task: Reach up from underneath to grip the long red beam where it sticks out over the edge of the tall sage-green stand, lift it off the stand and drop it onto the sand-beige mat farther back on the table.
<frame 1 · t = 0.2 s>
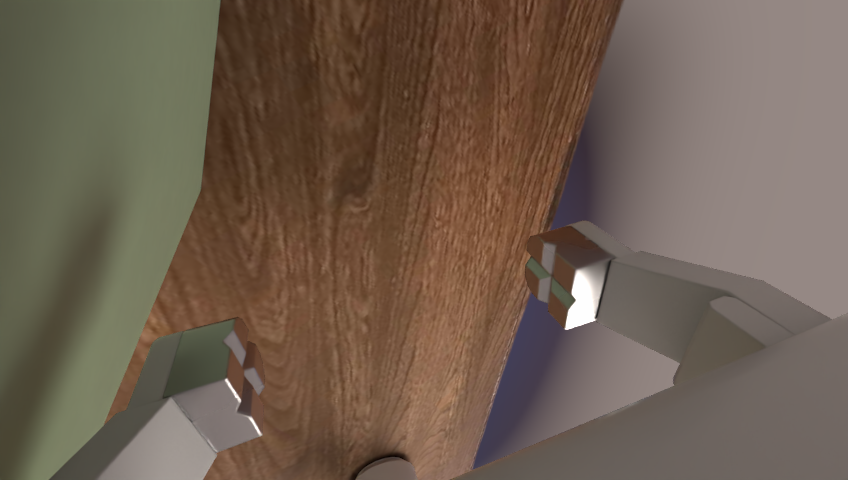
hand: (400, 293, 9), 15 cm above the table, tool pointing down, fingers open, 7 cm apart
can: (380, 470, 43), on the table
stand: (78, 15, 15), on the table
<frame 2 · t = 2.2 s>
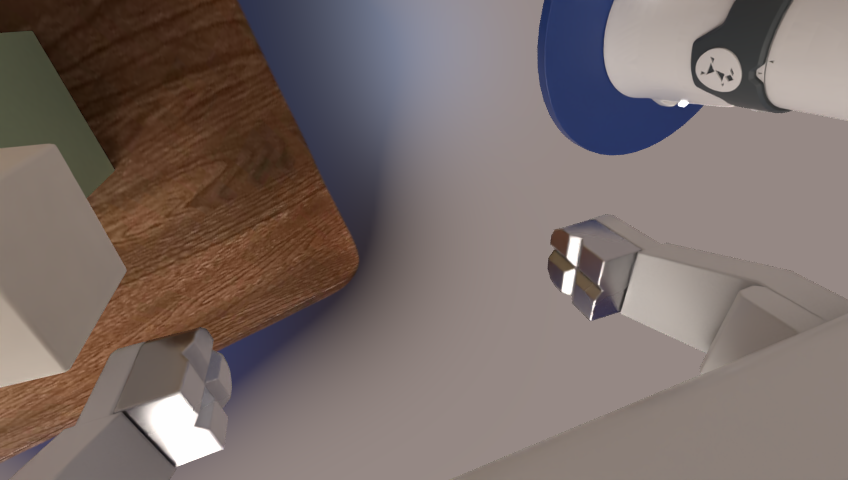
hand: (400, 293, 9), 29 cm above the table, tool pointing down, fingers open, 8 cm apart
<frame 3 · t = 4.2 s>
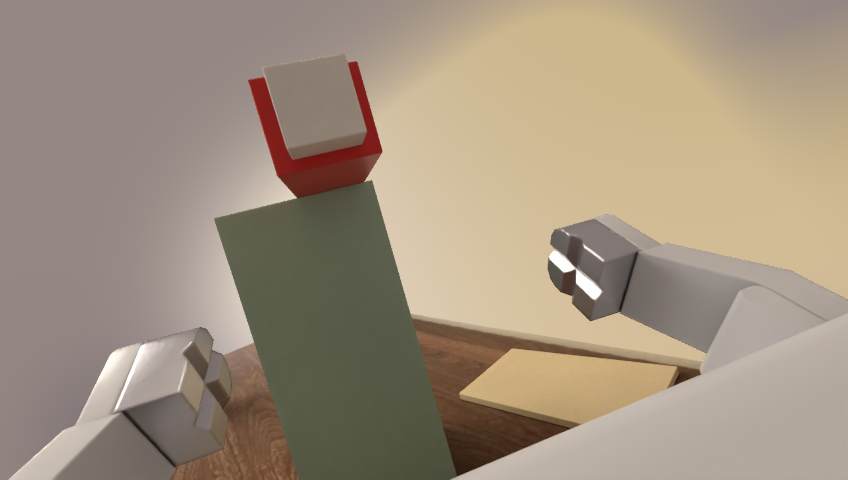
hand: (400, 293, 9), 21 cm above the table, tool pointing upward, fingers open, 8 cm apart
mat: (561, 387, 41), on the table
long red beam: (331, 193, 26), point 26 cm above the table, touching stand
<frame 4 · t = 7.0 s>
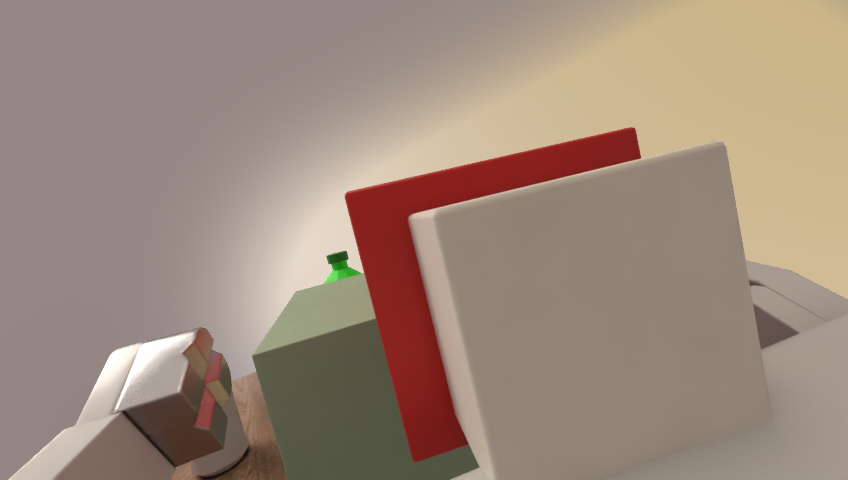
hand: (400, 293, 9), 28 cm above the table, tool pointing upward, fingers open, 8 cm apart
plastic bottle: (365, 364, 80), on the table
can: (223, 463, 55), on the table
long red beam: (431, 289, 16), point 26 cm above the table, touching gripper, stand
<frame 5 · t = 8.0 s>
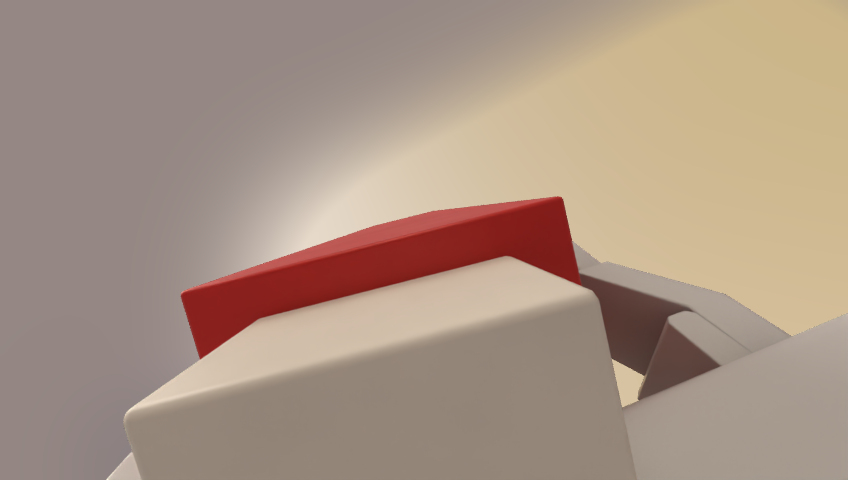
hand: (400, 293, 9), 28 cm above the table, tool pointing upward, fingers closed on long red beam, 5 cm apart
long red beam: (422, 314, 15), point 26 cm above the table, touching gripper, stand
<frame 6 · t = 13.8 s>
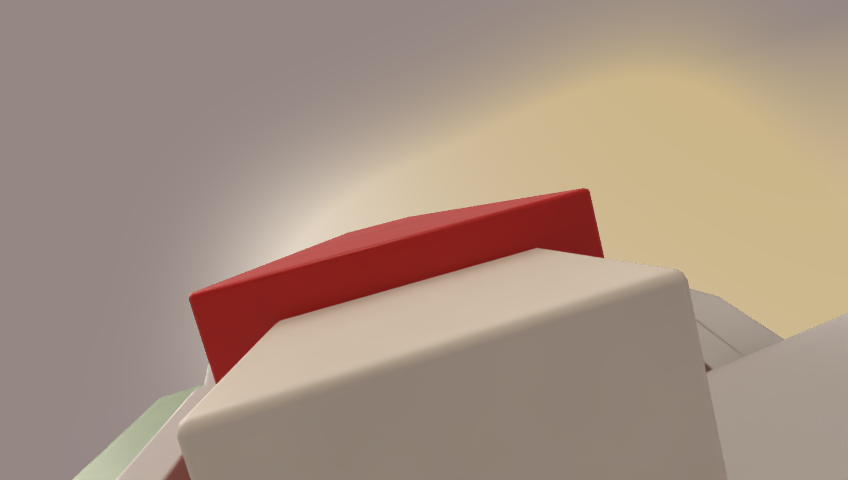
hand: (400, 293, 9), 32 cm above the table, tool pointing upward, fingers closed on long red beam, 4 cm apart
long red beam: (406, 319, 15), point 30 cm above the table, touching gripper
when the fingers open (15 cm above the table, at t = 20.1 s): long red beam drops 12 cm, resting on mat.
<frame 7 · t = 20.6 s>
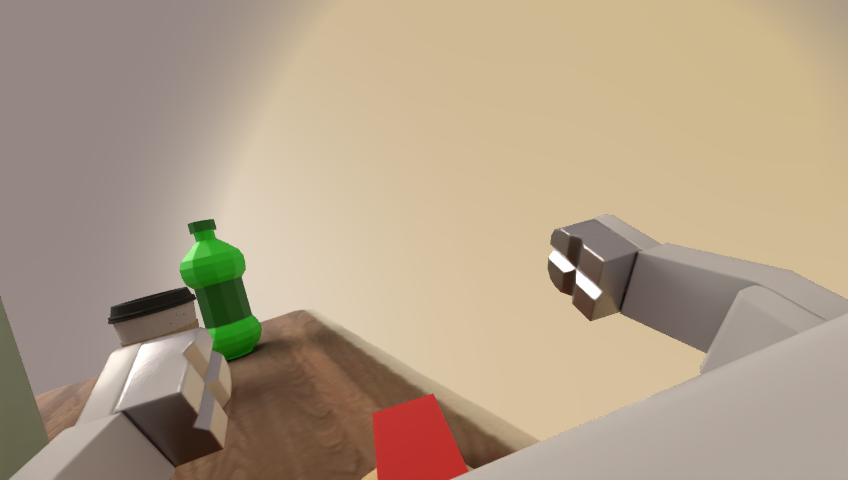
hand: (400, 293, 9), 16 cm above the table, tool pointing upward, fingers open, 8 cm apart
coffee cup: (183, 402, 50), on the table
plastic bottle: (238, 354, 68), on the table
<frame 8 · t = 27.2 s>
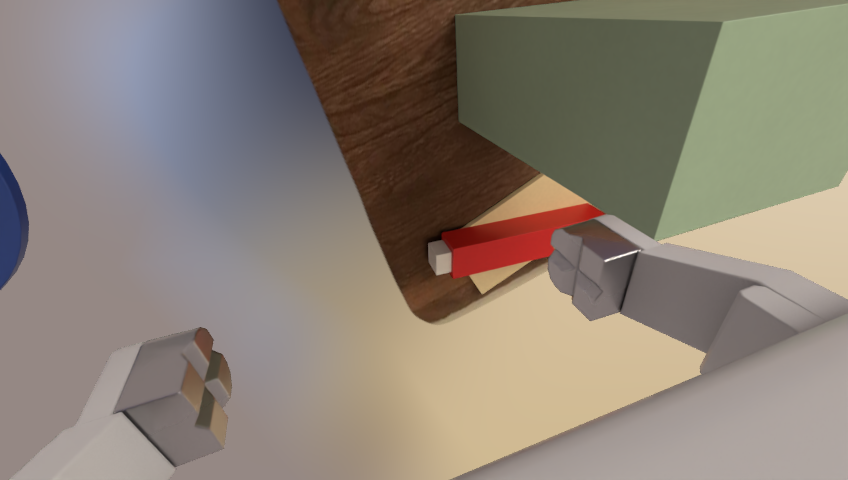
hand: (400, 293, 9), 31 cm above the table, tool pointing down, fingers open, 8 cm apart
mat: (522, 226, 51), on the table
long red beam: (516, 231, 50), point 1 cm above the table, touching mat
stand: (517, 62, 39), on the table
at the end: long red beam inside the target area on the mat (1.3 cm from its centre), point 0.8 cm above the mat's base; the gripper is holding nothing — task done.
